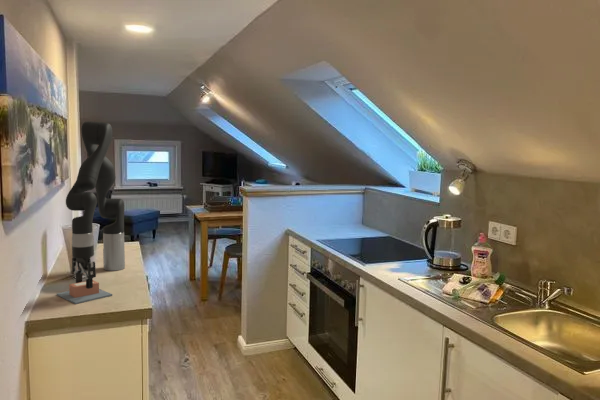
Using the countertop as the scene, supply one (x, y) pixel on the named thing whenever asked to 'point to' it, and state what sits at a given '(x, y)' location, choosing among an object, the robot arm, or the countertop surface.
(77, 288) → the card box
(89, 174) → the robot arm
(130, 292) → the countertop surface
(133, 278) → the countertop surface
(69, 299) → the mat
